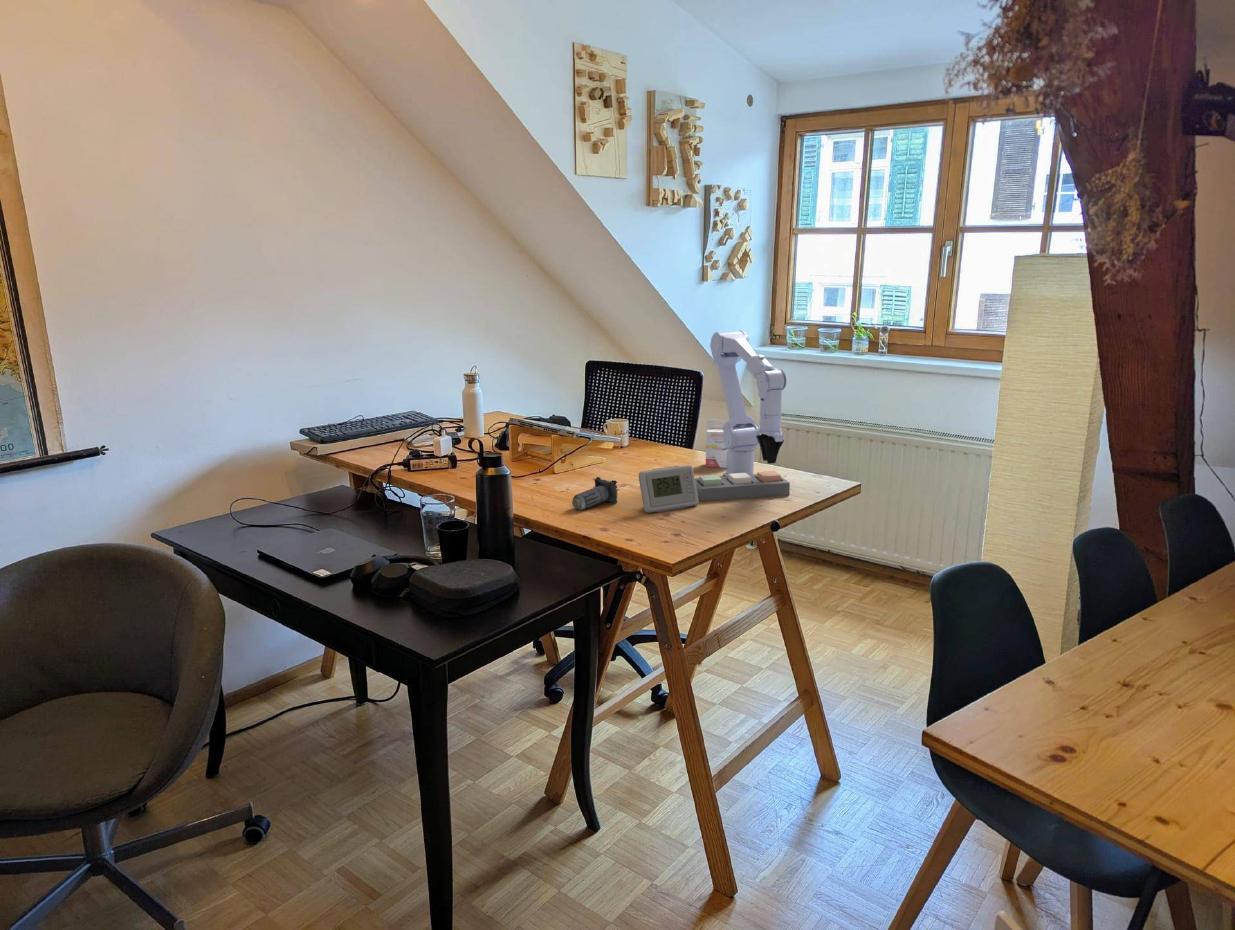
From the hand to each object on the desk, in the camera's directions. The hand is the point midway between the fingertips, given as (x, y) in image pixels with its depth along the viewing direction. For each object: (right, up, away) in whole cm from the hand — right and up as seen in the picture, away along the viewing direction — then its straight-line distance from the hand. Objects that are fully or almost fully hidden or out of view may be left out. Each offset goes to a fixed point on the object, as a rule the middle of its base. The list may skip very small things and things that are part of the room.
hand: (769, 461), depth 221 cm
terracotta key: (0, -5, +1) cm, 5 cm away
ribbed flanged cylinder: (-49, -12, -8) cm, 51 cm away
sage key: (-17, -6, -1) cm, 18 cm away
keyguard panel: (-8, -9, +1) cm, 12 cm away
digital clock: (-29, -13, -12) cm, 33 cm away
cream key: (-8, -6, 0) cm, 10 cm away
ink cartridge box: (-10, -1, +31) cm, 33 cm away
